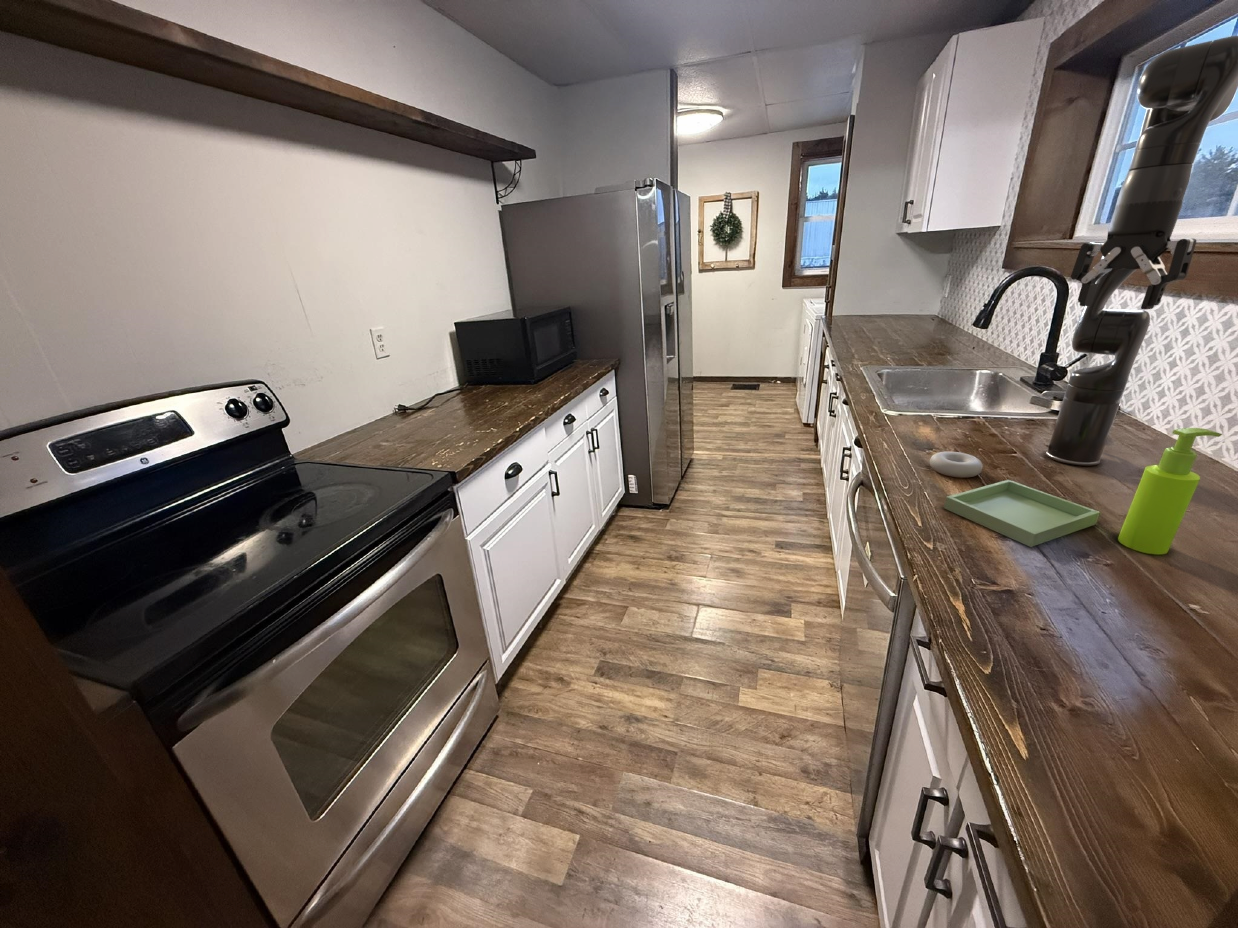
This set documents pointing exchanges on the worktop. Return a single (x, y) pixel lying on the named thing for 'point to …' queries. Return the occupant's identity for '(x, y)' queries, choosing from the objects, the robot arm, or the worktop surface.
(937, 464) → the donut
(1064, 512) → the tray
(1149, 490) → the soap dispenser
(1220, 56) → the robot arm
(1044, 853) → the worktop surface
